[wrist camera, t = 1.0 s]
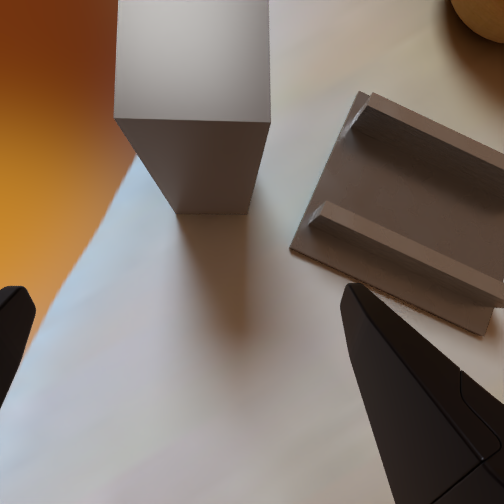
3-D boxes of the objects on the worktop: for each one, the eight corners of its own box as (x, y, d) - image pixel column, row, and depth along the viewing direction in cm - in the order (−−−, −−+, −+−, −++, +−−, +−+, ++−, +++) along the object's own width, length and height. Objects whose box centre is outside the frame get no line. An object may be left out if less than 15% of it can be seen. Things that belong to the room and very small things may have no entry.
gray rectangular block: (246, 214, 24) (270, 122, 11) (175, 213, 23) (113, 118, 11) (246, 149, 24) (268, -11, 12) (176, 147, 24) (119, -20, 11)
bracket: (478, 335, 24) (521, 342, 21) (289, 247, 24) (299, 240, 20) (532, 177, 26) (579, 160, 22) (356, 94, 26) (377, 63, 22)
